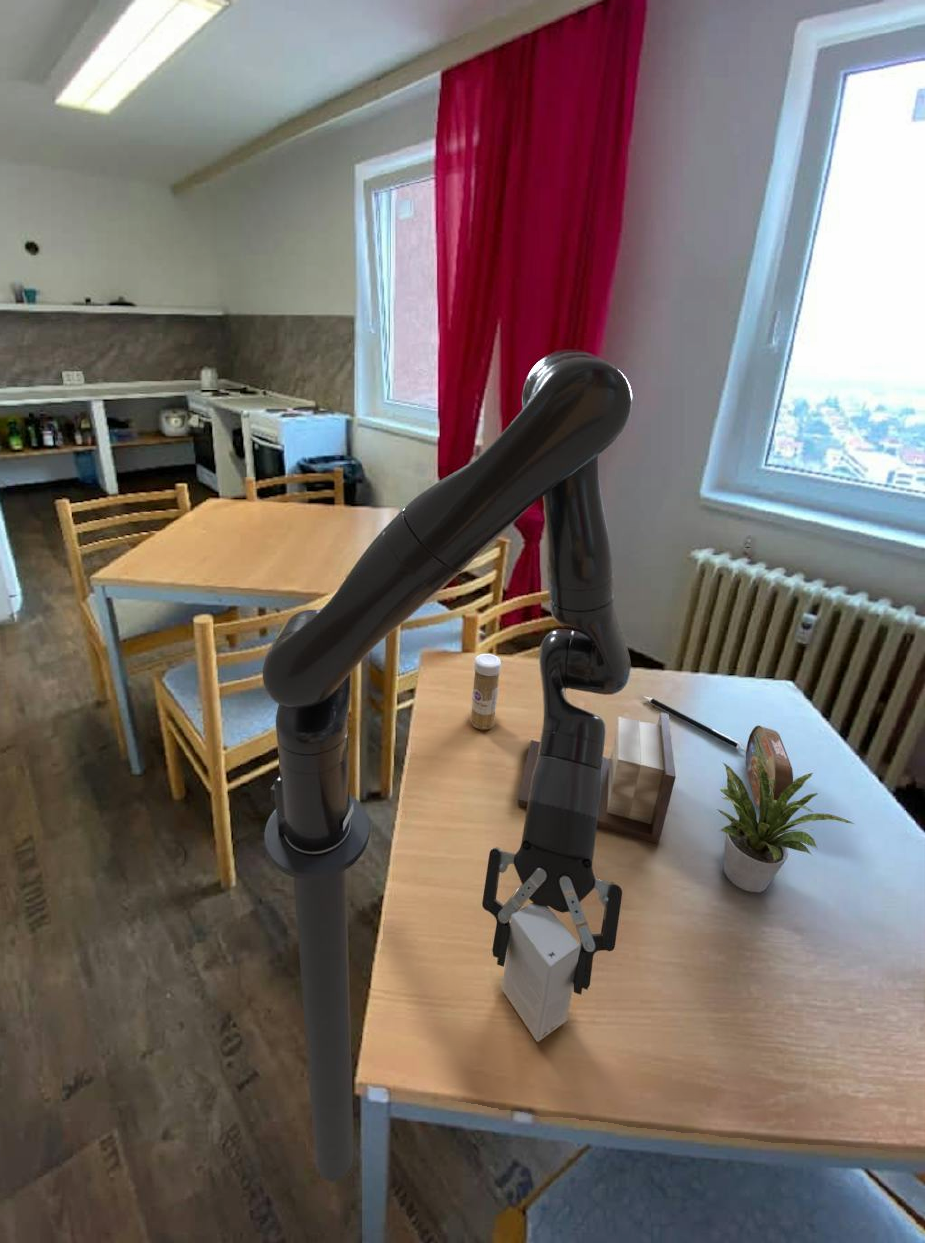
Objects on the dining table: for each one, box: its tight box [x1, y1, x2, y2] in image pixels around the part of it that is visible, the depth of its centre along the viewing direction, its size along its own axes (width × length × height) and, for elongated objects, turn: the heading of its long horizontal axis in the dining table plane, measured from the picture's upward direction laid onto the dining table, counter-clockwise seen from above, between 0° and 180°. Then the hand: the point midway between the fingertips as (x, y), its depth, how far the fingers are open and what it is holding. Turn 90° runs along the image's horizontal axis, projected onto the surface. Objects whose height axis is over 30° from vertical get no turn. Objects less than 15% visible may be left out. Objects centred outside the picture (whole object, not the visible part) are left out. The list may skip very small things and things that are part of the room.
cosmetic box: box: [501, 902, 581, 1043], centre depth 61 cm, size 6×4×12 cm
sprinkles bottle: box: [469, 653, 502, 731], centre depth 103 cm, size 5×5×14 cm
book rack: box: [517, 712, 677, 844], centre depth 89 cm, size 20×14×12 cm
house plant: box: [717, 751, 855, 893], centre depth 75 cm, size 14×14×16 cm
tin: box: [744, 725, 794, 808], centre depth 91 cm, size 15×3×8 cm, turn 161°
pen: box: [643, 695, 746, 752], centre depth 106 cm, size 1×19×1 cm, turn 39°
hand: (538, 977), depth 59 cm, fingers closed on cosmetic box, 7 cm apart
